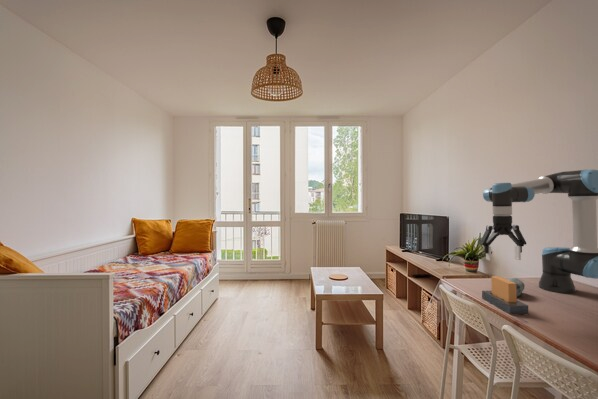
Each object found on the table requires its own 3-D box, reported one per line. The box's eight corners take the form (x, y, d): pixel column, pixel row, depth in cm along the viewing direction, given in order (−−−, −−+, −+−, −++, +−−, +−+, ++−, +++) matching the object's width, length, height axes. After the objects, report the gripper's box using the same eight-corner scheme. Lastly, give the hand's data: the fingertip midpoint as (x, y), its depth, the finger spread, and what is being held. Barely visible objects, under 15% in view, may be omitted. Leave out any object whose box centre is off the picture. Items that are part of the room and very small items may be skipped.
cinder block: (498, 298, 145) (497, 290, 145) (528, 314, 125) (528, 305, 125) (482, 298, 145) (482, 290, 145) (509, 314, 125) (509, 305, 125)
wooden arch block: (498, 300, 141) (498, 276, 141) (516, 309, 129) (516, 283, 129) (491, 300, 141) (491, 276, 141) (508, 309, 129) (508, 283, 129)
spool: (525, 294, 141) (514, 274, 146) (504, 298, 147) (495, 279, 152) (532, 294, 149) (522, 276, 154) (512, 299, 155) (503, 280, 160)
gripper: (523, 214, 138) (523, 257, 139) (471, 215, 139) (471, 258, 139) (535, 215, 131) (536, 261, 131) (480, 216, 132) (481, 262, 132)
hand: (503, 259), depth 135 cm, fingers open, 13 cm apart
